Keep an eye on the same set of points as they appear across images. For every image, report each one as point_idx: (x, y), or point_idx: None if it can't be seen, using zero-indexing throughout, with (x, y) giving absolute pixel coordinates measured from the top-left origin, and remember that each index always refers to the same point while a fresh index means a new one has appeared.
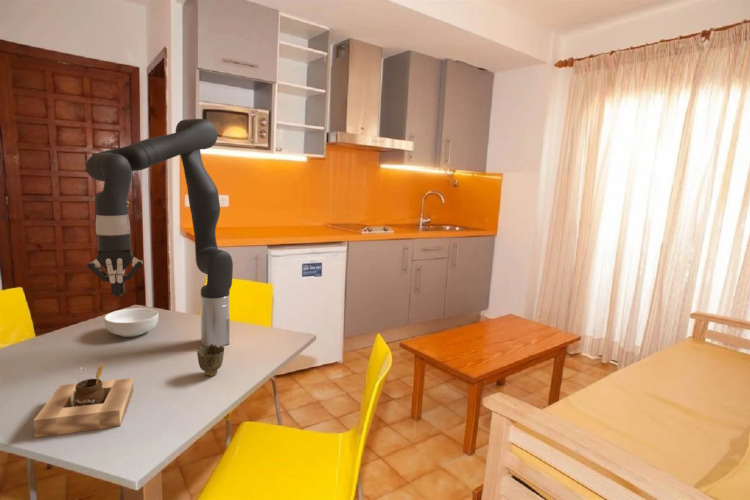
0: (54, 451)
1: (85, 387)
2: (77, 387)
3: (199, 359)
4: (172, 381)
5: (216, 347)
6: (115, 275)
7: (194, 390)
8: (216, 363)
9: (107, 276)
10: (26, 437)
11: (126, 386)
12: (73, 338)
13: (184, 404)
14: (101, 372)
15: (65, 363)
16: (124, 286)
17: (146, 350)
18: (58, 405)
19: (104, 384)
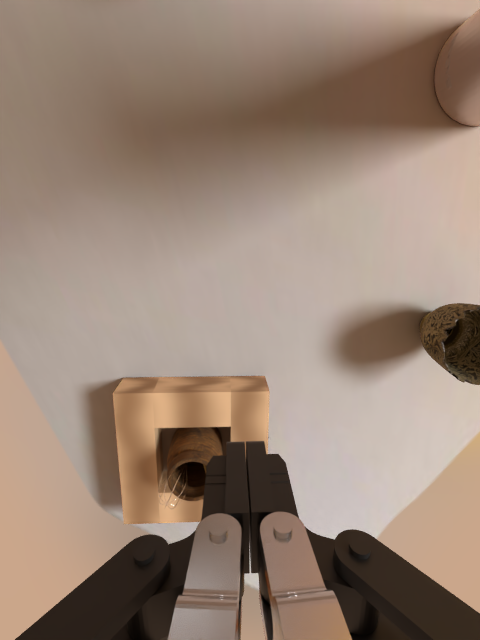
0: (179, 538)
1: (181, 452)
2: (174, 494)
3: (435, 358)
4: (343, 341)
5: None
6: (232, 585)
7: (389, 395)
8: (470, 364)
9: (164, 621)
10: (119, 494)
11: (261, 429)
12: None
13: (367, 446)
14: None
15: (44, 151)
16: (291, 491)
17: (260, 95)
18: (146, 482)
19: (211, 409)
